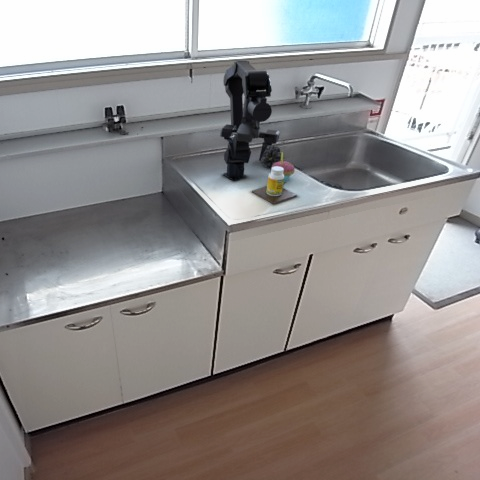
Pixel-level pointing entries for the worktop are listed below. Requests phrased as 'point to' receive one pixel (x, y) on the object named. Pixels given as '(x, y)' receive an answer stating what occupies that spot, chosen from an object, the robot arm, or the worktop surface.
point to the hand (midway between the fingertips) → (246, 158)
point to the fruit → (271, 156)
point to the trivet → (274, 199)
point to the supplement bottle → (275, 181)
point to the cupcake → (285, 168)
